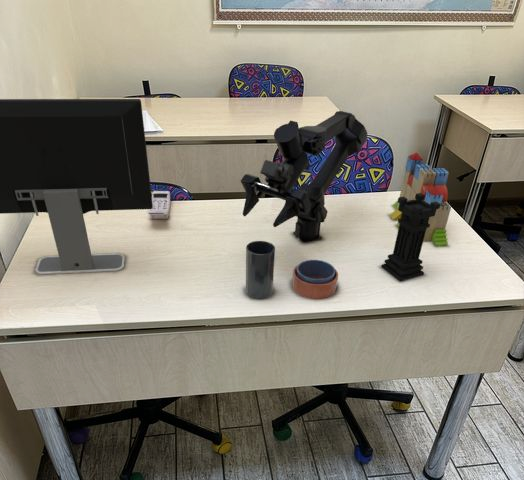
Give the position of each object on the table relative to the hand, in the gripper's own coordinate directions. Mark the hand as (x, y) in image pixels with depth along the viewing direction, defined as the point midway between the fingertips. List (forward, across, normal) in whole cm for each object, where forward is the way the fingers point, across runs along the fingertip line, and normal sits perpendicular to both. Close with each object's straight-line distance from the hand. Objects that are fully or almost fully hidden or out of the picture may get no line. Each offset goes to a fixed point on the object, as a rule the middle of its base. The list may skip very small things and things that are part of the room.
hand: (258, 220), depth 125 cm
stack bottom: (+5, +16, +14) cm, 22 cm away
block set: (-38, +23, +42) cm, 61 cm away
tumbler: (+14, +6, +8) cm, 17 cm away
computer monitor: (+30, -39, -2) cm, 49 cm away
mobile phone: (0, -45, +18) cm, 48 cm away
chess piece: (-13, +30, +26) cm, 42 cm away
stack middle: (+5, +16, +14) cm, 22 cm away
